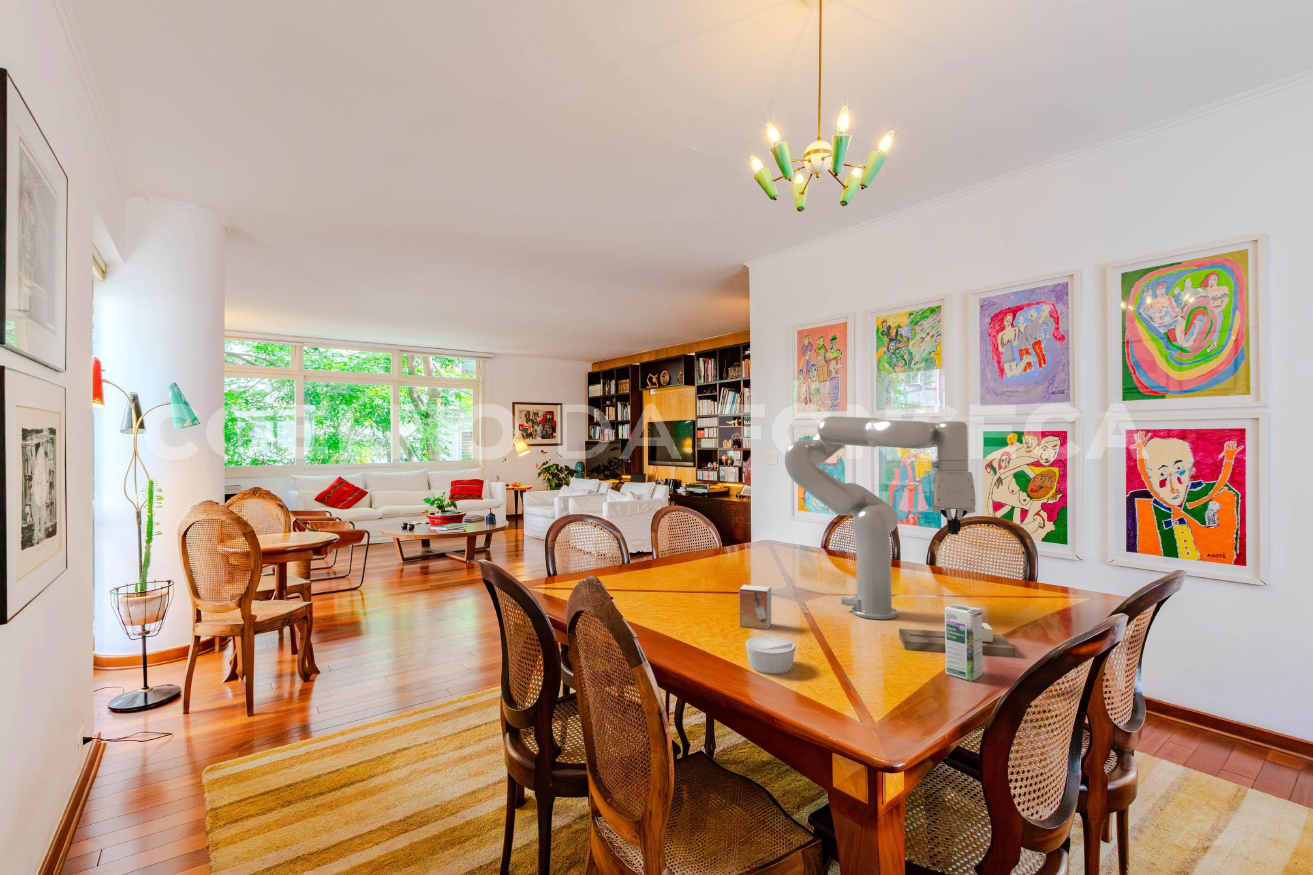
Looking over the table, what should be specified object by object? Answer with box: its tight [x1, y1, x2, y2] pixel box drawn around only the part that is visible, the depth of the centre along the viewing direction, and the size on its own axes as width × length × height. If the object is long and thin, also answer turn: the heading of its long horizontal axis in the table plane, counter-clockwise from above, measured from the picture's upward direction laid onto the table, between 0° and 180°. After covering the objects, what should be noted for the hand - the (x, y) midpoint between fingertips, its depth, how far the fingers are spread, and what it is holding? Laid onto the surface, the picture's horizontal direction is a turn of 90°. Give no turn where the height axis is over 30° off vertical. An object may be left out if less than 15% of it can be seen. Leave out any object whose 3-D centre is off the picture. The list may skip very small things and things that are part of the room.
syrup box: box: [944, 603, 984, 682], centre depth 130 cm, size 6×6×14 cm
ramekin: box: [745, 635, 796, 675], centre depth 136 cm, size 11×11×5 cm
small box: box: [738, 584, 772, 630], centre depth 167 cm, size 8×6×10 cm
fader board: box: [898, 628, 1016, 658], centre depth 148 cm, size 24×10×2 cm, turn 76°
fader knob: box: [982, 622, 994, 642], centre depth 146 cm, size 4×5×3 cm
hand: (953, 533), depth 163 cm, fingers closed
